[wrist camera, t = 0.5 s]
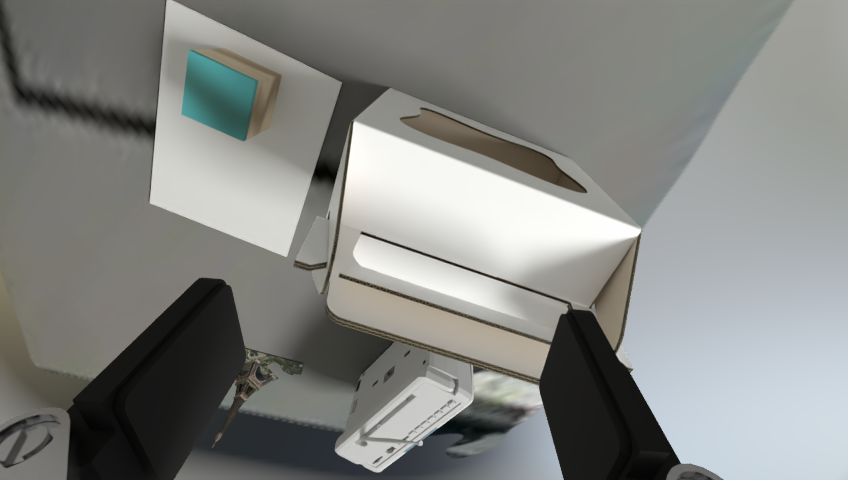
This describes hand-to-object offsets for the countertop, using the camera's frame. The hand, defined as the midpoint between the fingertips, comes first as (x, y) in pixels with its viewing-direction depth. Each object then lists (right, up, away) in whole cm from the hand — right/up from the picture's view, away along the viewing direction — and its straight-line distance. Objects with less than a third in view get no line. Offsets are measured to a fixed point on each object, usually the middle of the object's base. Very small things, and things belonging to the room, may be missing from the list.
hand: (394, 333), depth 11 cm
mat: (-21, +13, +32) cm, 41 cm away
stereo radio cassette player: (-2, -15, +47) cm, 49 cm away
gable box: (+5, +10, +33) cm, 35 cm away
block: (-18, +19, +29) cm, 39 cm away
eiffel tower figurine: (-27, -19, +52) cm, 61 cm away
